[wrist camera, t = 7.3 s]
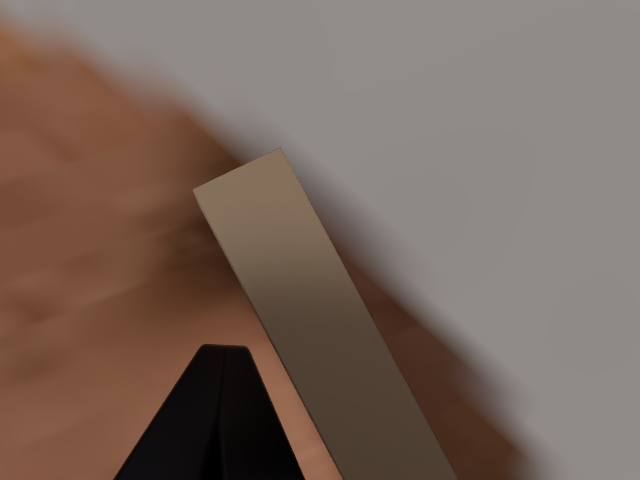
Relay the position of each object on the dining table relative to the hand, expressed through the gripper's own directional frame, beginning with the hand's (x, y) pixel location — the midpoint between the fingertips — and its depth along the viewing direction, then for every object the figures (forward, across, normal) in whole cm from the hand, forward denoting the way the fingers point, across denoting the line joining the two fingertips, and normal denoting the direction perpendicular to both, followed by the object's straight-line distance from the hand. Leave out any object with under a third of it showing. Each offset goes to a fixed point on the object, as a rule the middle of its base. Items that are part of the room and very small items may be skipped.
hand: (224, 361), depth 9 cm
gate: (+2, -4, +7) cm, 8 cm away
